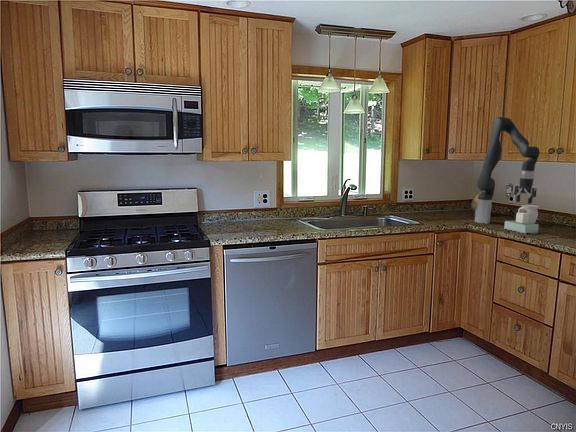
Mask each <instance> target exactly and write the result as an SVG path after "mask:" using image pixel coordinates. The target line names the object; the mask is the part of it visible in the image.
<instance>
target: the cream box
mask: <svg viewBox="0 0 576 432" xmlns="http://www.w3.org/2000/svg"><path fill="white" fill-rule="evenodd" d="M515 214H516V215H515V221H516V222H519V223H528V218H529V214H527V213H521V212H520V213H518V212H516V213H515Z"/></svg>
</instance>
